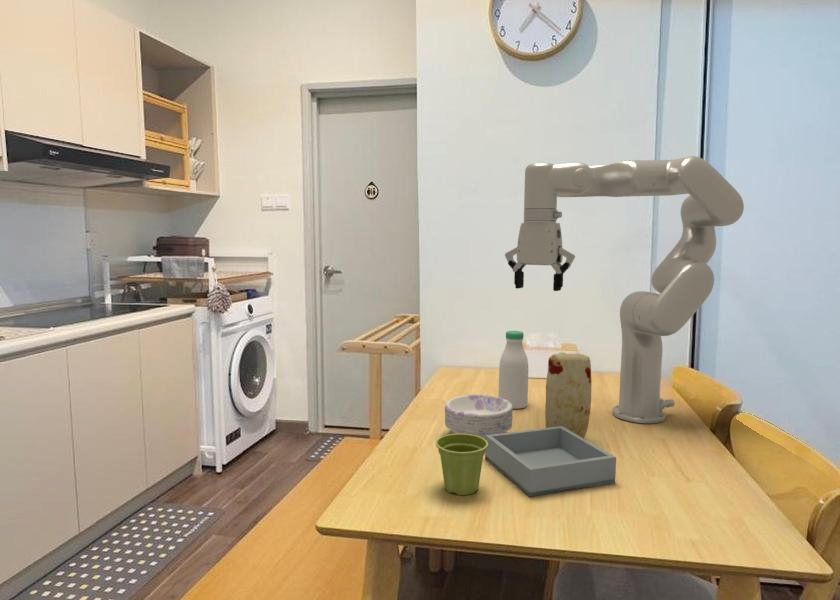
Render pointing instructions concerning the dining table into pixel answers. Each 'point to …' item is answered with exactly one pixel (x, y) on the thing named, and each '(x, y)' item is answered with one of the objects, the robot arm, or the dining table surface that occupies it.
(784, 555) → the dining table surface
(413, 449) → the dining table surface
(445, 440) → the plant pot
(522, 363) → the milk bottle
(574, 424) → the food model
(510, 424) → the paper bowls
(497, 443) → the bin
